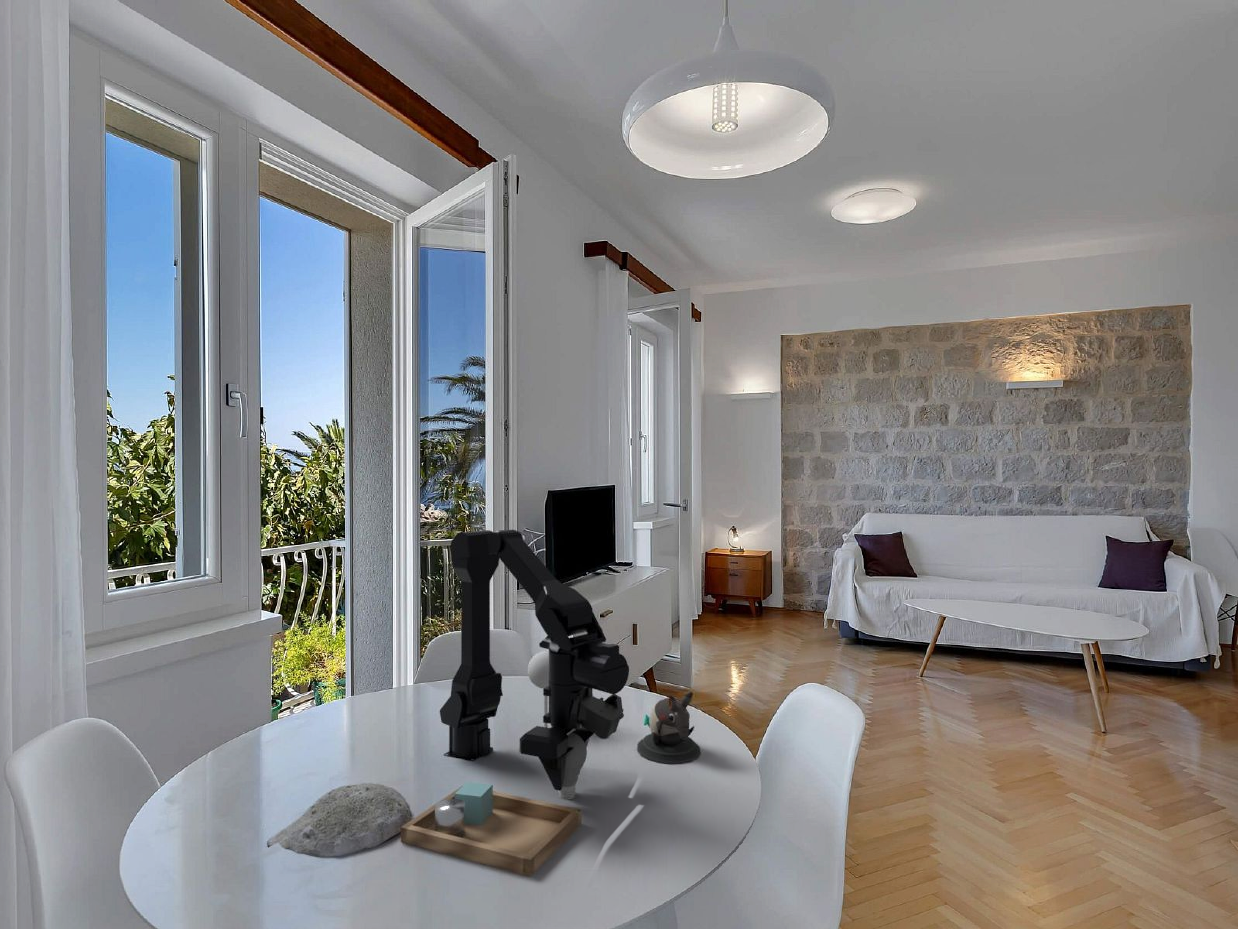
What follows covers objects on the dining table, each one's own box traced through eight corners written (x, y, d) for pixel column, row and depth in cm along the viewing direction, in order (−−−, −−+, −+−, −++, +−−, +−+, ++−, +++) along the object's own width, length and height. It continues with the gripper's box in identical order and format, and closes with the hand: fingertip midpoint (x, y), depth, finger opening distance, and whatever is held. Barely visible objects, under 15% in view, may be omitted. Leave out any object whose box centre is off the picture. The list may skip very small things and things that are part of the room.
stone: (367, 770, 109) (432, 767, 102) (372, 822, 108) (439, 822, 100) (258, 810, 95) (325, 809, 87) (263, 871, 93) (332, 875, 86)
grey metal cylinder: (428, 839, 94) (428, 809, 94) (447, 825, 97) (447, 796, 97) (452, 845, 92) (453, 815, 92) (470, 831, 96) (471, 802, 96)
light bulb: (581, 810, 103) (581, 742, 103) (542, 806, 104) (542, 739, 104) (590, 792, 109) (590, 728, 109) (554, 788, 110) (554, 725, 110)
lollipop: (571, 726, 138) (571, 650, 138) (548, 737, 132) (549, 658, 132) (543, 719, 142) (543, 645, 142) (520, 730, 136) (520, 653, 136)
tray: (400, 846, 93) (400, 827, 93) (464, 801, 106) (464, 784, 106) (529, 881, 85) (529, 860, 85) (581, 828, 98) (581, 810, 98)
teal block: (454, 822, 98) (454, 793, 98) (467, 809, 102) (467, 781, 102) (480, 825, 97) (480, 796, 97) (492, 812, 101) (492, 784, 101)
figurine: (679, 734, 133) (680, 673, 133) (713, 759, 122) (714, 693, 122) (625, 744, 128) (626, 681, 128) (657, 771, 118) (658, 702, 117)
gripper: (587, 705, 95) (587, 820, 95) (638, 670, 112) (638, 768, 112) (517, 695, 100) (517, 805, 99) (577, 663, 117) (577, 756, 116)
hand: (567, 782), depth 107 cm, fingers closed on light bulb, 5 cm apart
